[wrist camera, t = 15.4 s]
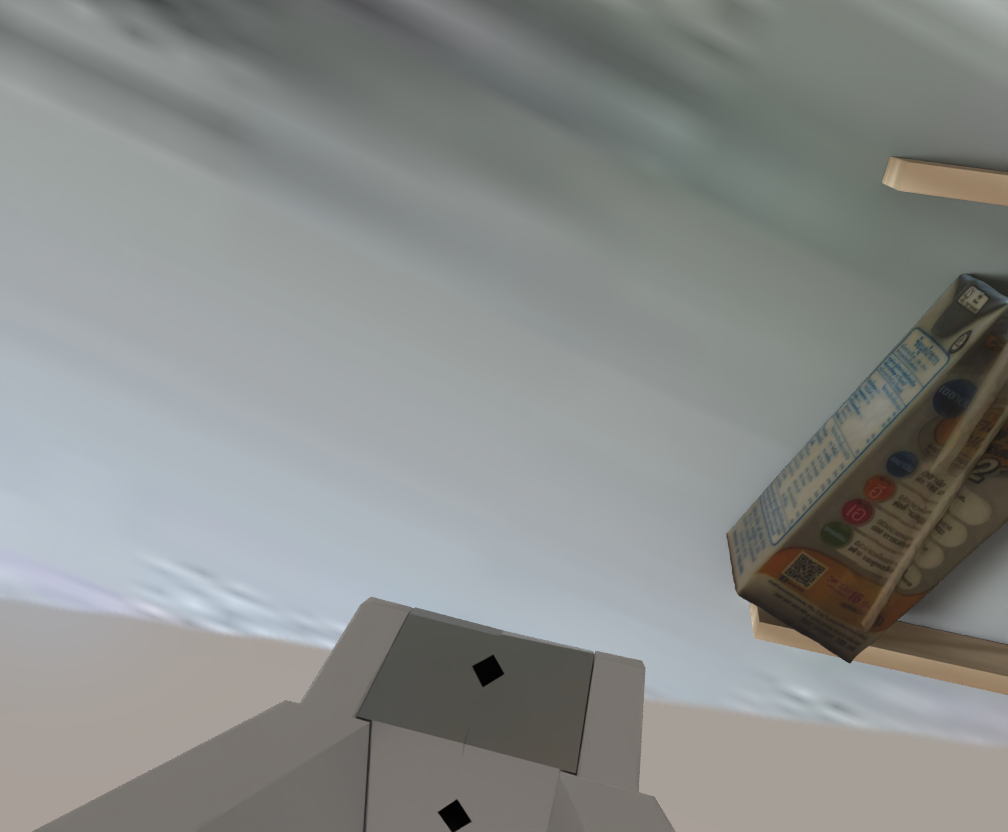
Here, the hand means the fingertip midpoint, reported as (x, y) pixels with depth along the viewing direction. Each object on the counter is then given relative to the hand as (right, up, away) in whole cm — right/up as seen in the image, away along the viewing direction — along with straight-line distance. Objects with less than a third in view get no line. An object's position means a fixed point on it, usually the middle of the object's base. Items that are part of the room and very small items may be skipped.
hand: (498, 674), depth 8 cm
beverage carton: (+21, +1, +33) cm, 39 cm away
